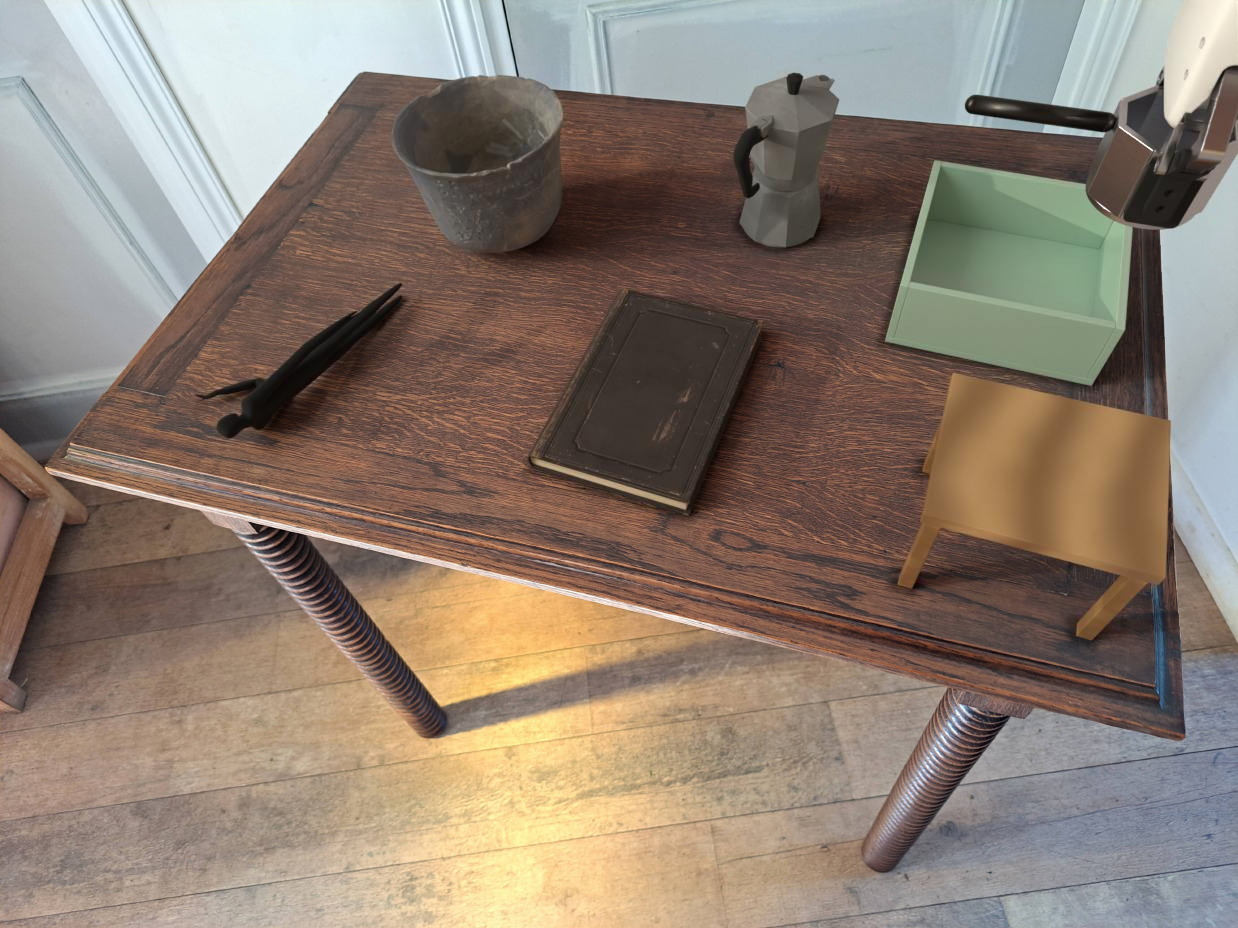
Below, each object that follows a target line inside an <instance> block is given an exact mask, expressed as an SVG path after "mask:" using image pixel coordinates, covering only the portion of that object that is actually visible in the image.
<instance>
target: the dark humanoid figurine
mask: <svg viewBox="0 0 1238 928" xmlns="http://www.w3.org/2000/svg"><path fill="white" fill-rule="evenodd" d="M402 286H403V283H402V282H399V283H397V284H395V285H394V286H392V287H391V288H388V290H386V291H385V292H383V293H382V294H381V295H380V296H378V297H376V298H375V299H374V300H372V301H371V302H369V303H368V304H367V305H366V306H364V307H363V308H362V309H361V310H360V311H358V310H354V311H352V312H350V313H348V314H347V315H344V316H343V317H341V318H340V319H338V320H337V321H335V322H333V323H332V324H330V325H329V326H328V327H325V328H324V329H323V330H321V331H320V332H319V333H317V334H316V335H314V336H313V337H311V338H310V339H309V340H307V341H305V342H304V343H303V344H302V345H301V346H300V347H299V348H298V349H297V350H295V352H294V353H293V354H292V355H291V356H290V357H289V358H288V359H286V361H284V362H283V363H282V364H281V365H280V366H279V367H278V368H277V369H276V370H275V371H274V372H273V373H271V375H269V376H268V377H267V378H266V379H263V378H262V377H256V378H252V379H247V380H243V381H240V382H236V383H233V384H230V385H227V386H224V387H222V388H219V389H215V390H213V391H211V392H209V393H207V394H198V393H197V394H195V393H194V396H196V397H197V398H199V400H198V402H202V401H204V400H210V399H213V398H215V397H217V396H225V395H226V396H228V395H232V394H236V393H240V392H245V391H248V390H251V389H253V390H252V391H251V392H249V393H248V394H247V395H246V396H245V397H243V398H242V400H241V403H240V407H241V413H240V415H239V414H238V413H236V412H233V413H229V414H226V415H224V416H222V417H221V418H219V420H218V421H217V422H216V427H215V429H216V431H217V433H218V434H219V435H221V436H222V437H223V438H225V439H233V438H235V437H236V436H237V435H239V433H241V432H242V431H243V430H245V429H248V428H252V429H253V430H256V431H262V430H263V429H264V428H265V427H266V426H267V425H268V423H269V422H270V420H272V418H273V417H274V416H275V414H276V413H277V412H278V411H279V410H280V409H281V408H283V407H284V406H285V405H287V404H288V403H289V402H290V401H292V400H293V399H294V398H295V397H296V396H298V395H299V394H301V392H303V391H304V390H305V389H306V388H308V387H309V386H310V385H311V384H313V383H314V381H316V380H317V379H318V378H319V377H320V376H322V375H323V374H324V373H325V372H326V371H327V370H328V369H329V368H331V367H332V366H333V365H334V364H335V363H336V362H338V361H339V360H340V359H341V358H342V357H344V356H345V355H346V354H347V353H348V352H349V351H350V350H351V349H352V348H353V347H354V346H355V345H356V344H357V343H358V342H359V341H360V340H361V339H362V338H364V337H365V336H367V335H368V334H369V333H370V332H371V331H372V330H374V329H375V328H376V327H377V326H378V325H379V324H380V323H381V322H382V321H383V320H384V319H385V318H386V317H387V316H388V315H389V314H390V313H391V312H392V311H393V310H395V308H396V307H397V305H398V304H399V303H401V301H402V299H403V295H398V296H396V297H395V298H394V299H391V298H392V297H394V295H395V294H396V293H397V292H398V291H399V290H400V289H401V288H402ZM390 299H391V300H390ZM388 301H389V302H388ZM387 302H388V303H387ZM383 305H384V306H383Z"/></svg>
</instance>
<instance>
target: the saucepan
mask: <svg viewBox="0 0 1238 928" xmlns="http://www.w3.org/2000/svg"><path fill="white" fill-rule="evenodd" d="M964 109H965V111H966V112H967V113H968V114H969V115H976V116H981V117H990V118H996V119H1003V120H1011V121H1017V122H1025V123H1031V124H1040V125H1047V126H1055V127H1060V128H1061V127H1062V128H1066V129H1067V128H1069V129H1075V130H1082V131H1089V132H1090V131H1091V132H1095V133H1103V134H1104V135H1103V137H1102V138H1101V141H1100V143H1099V146H1098V148H1097V150H1096V152H1095V154H1094V157H1093V158H1092V161H1091V163H1090V166H1089V169H1088V177H1087V180H1086V181H1085V184H1086V194H1087V197H1088V199H1089V201H1090V202H1091V204H1092V205H1093V206H1094V207H1095V208H1096V209H1097V210H1098V211H1099V212H1100V213H1102V214H1103V215H1105V216H1106V217H1108V218H1110V219H1112V220H1114V221H1116V222H1118V223H1121V224H1124V225H1127V226H1130V227H1133V228H1135V229H1139V230H1140V229H1141V230H1148V231H1161V230H1163V231H1164V230H1169V229H1168V228H1162V227H1156V226H1150V225H1143V224H1137V223H1131V222H1126V221H1124V219H1123V212H1124V210H1125V208H1126V206H1127V204H1128V202H1129V200H1130V198H1131V196H1132V194H1133V192H1134V191H1135V189H1136V187H1137V185H1138V183H1139V181H1140V179H1141V177H1142V175H1143V173H1144V171H1145V169H1146V167H1147V166H1148V164H1149V163H1153V164H1155V163H1156V161H1157V158H1158V155H1159V153H1160V150H1161V148H1162V145H1163V143H1164V140H1165V137H1166V135H1167V132H1168V130H1169V127H1170V125H1169V123H1168V122H1167V120H1166V119H1165V116H1164V87H1163V86H1157V87H1156V85H1155V86H1152V87H1149V88H1146V89H1144V90H1141V91H1139V92H1136V93H1133V94H1130V95H1127V96H1126V97H1122V98H1121V99H1120V100H1119V102H1118V103H1117V105H1116V108H1115V110H1114V112H1109V111H1103V110H1096V109H1095V110H1094V109H1088V108H1079V107H1073V106H1065V105H1058V104H1051V103H1042V102H1035V101H1029V100H1021V99H1013V98H1007V97H1006V98H1005V97H998V96H991V95H985V94H984V95H983V94H972V95H970V96H969V97H967V99H966V100H965V102H964ZM1206 111H1207V110H1205V109H1198V108H1197V109H1195V110H1194V111H1193V112H1192V113H1187V115H1186V118H1188V119H1196V120H1203V121H1204V117H1205V114H1206ZM1199 134H1200V133H1196V132H1189V131H1183V133H1182V136H1181V138H1180V141H1179V143H1178V146H1177V148H1176V151H1175V153H1176V152H1178V151H1180V150H1181V149H1183V148H1186V149H1191V147H1192V145H1193V144H1194V143H1195V142H1196V140H1197V138H1198V136H1199ZM1237 156H1238V135H1237V134H1236V121H1235V124H1234V128H1233V131H1232V134H1231V137H1230V141H1229V144H1228V147H1227V151H1226V153H1225V156H1224V158H1223V160H1222V161H1221V163H1220V164H1218V165H1217V166H1216V167H1215V169H1214V170H1212V171H1211V173H1210V175H1209V177H1208V179H1207V180H1206V181H1205V182H1204V183H1203V185H1202V187H1201V188H1200V190H1199V192H1198V193H1197V195H1196V197H1195V198H1194V200H1193V202H1192V203H1191V205H1190V207H1189V208H1188V210H1187V212H1186V213H1185V215H1184V217H1183V218H1182V220H1181V222H1180V224H1179V225H1178V226H1177V227H1176V228H1178V227H1181V226H1182V225H1185V224H1187V223H1188V222H1190V221H1191V220H1192V219H1194V217H1195V216H1196V215H1198V214H1201V213H1202V212H1203V211H1204V210H1205V208H1206V207H1207V205H1208V203H1209V202H1210V200H1211V198H1212V197H1213V195H1214V193H1215V192H1216V190H1217V189H1218V187H1219V185H1220V183H1221V182H1222V181H1223V179H1224V177H1225V175H1226V174H1227V172H1228V170H1229V169H1230V168H1231V165H1232V164H1233V162H1234V161H1235V159H1236V157H1237Z"/></svg>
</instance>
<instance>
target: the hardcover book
mask: <svg viewBox="0 0 1238 928" xmlns="http://www.w3.org/2000/svg"><path fill="white" fill-rule="evenodd" d="M599 324H600V325H599V326H598V328H597V330H596V331H595V333H594V335H593V337H592V339H591V341H590V342H589V344H588V346H587V348H586V350H585V351H584V353H583V355H582V357H581V359H580V361H579V362H578V364H577V366H576V368H575V370H574V372H573V373H572V375H571V377H570V379H569V380H568V383H567V384H566V386H565V388H564V389H563V390H562V393H561V395H560V397H559V398H558V400H557V402H556V404H555V406H554V407H553V410H552V411H551V413H550V415H549V416H548V419H547V420H546V422H545V423H544V426H543V428H542V429H541V431H540V433H539V435H538V436H537V438H536V440H535V442H534V443H533V446H532V447H531V449H530V451H529V453H528V454H527V462H528V464H529V465H530V467H532V468H533V469H535V470H538V471H541V472H544V473H546V474H547V473H548V474H551V475H555V476H558V477H561V478H563V479H567V480H570V481H573V482H576V483H581V484H584V485H587V486H590V487H594V488H597V489H600V490H603V491H607V492H610V493H612V494H613V493H614V494H616V495H619V496H623V497H627V498H629V499H633V500H636V501H639V502H642V503H646V504H649V505H653V506H656V507H659V508H662V509H666V510H668V511H672V512H675V513H679V514H682V515H685V516H690V514H691V512H692V509H693V507H694V505H695V502H696V499H697V497H698V495H699V492H700V489H701V487H702V484H703V482H704V480H705V477H706V475H707V472H708V470H709V468H710V465H711V463H712V461H713V457H714V455H715V453H716V451H717V448H718V446H719V444H720V441H721V438H722V436H723V434H724V431H725V429H726V427H727V424H728V422H729V419H730V418H731V417H730V416H731V414H732V412H733V409H734V407H735V404H736V402H737V400H738V397H739V394H740V392H741V390H742V387H743V385H744V382H745V380H746V378H747V376H748V374H749V373H748V372H749V371H750V368H751V365H752V363H753V361H754V358H755V355H756V353H757V351H758V349H759V347H760V344H761V341H762V338H763V336H764V334H763V333H761V331H762V329H763V327H764V325H765V321H764V320H761V319H756V318H752V317H747V316H743V315H739V314H734V313H732V312H731V313H730V312H726V311H722V310H718V309H714V308H711V307H710V308H709V307H705V306H700V305H696V304H692V303H688V302H685V301H680V300H675V299H671V298H667V297H662V296H659V295H655V294H649V293H647V292H646V293H645V292H641V291H637V290H632V289H628V288H620V289H619V290H618V291H617V293H616V295H615V297H614V298H613V301H612V303H611V305H610V306H609V308H608V310H607V312H606V314H605V315H604V317H603V319H602V321H601V322H600V323H599Z"/></svg>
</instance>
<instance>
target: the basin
mask: <svg viewBox="0 0 1238 928" xmlns="http://www.w3.org/2000/svg"><path fill="white" fill-rule="evenodd" d="M1133 228H1134V227H1130V226H1127V225H1124V224H1121V223H1118V222H1116V221H1114V220H1112V219H1110V218H1108V217H1106V216H1105V215H1103V214H1102V213H1100V212H1099V211H1098V210H1097V209H1096V208H1095V207H1094V206H1093V205H1092V204H1091V202H1090V201H1089V199H1088V197H1087V194H1086V183H1082V182H1075V181H1068V180H1061V179H1055V178H1049V177H1043V176H1037V175H1031V174H1025V173H1019V172H1012V171H1005V170H1000V169H993V168H987V167H981V166H980V167H979V166H974V165H967V164H962V163H956V162H949V161H942V160H936V159H935V160H934V161H933V164H932V166H931V171H930V175H929V179H928V181H927V186H926V189H925V193H924V197H923V200H922V204H921V207H920V212H919V215H918V219H917V222H916V226H915V230H914V233H913V236H912V240H911V244H910V248H909V252H908V255H907V259H906V262H905V266H904V270H903V273H902V278H901V280H900V284H899V287H898V291H897V296H896V299H895V303H894V307H893V310H892V313H891V317H890V321H889V325H888V328H887V332H886V335H885V339H884V342H885V343H889V344H895V345H900V346H905V347H908V348H914V349H918V350H922V351H928V352H932V353H936V354H942V355H946V356H951V357H955V358H960V359H965V360H969V361H975V362H978V363H984V364H988V365H993V366H996V367H997V366H998V367H1002V368H1006V369H1011V370H1016V371H1021V372H1025V373H1030V374H1034V375H1038V376H1044V377H1049V378H1053V379H1058V380H1061V381H1062V380H1063V381H1067V382H1072V383H1075V384H1081V385H1085V386H1086V385H1087V386H1090V387H1092V386H1093V385H1094V383H1095V381H1096V379H1097V378H1098V376H1099V375H1100V373H1101V371H1102V370H1103V368H1104V366H1105V364H1106V363H1107V361H1108V360H1109V358H1110V356H1111V355H1112V353H1113V351H1114V349H1115V348H1116V346H1117V345H1118V343H1119V342H1120V340H1121V338H1122V336H1123V334H1124V333H1125V331H1126V325H1127V311H1128V297H1129V286H1130V285H1129V284H1130V271H1131V270H1130V269H1131V258H1132V257H1131V256H1132V244H1133V242H1132V241H1133V230H1134V229H1133Z"/></svg>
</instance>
